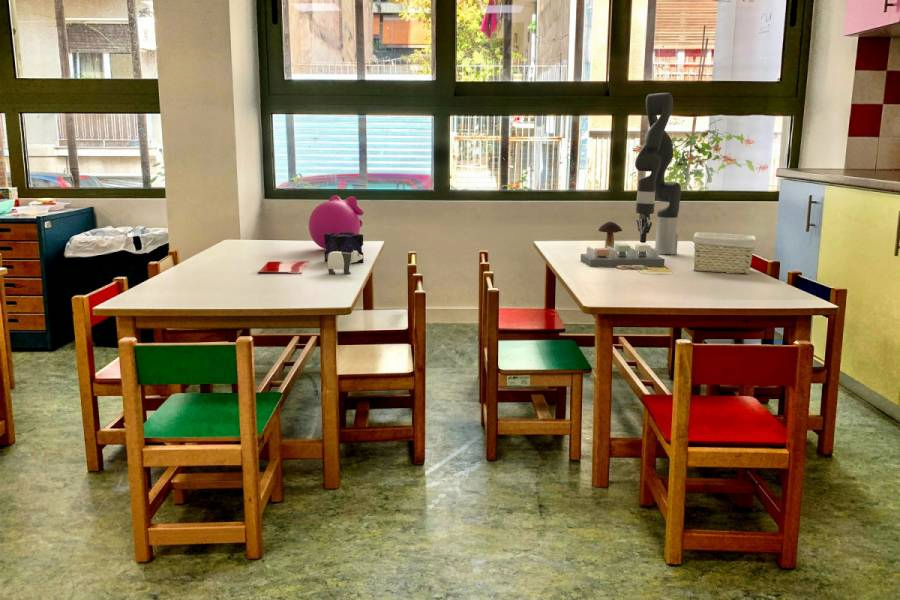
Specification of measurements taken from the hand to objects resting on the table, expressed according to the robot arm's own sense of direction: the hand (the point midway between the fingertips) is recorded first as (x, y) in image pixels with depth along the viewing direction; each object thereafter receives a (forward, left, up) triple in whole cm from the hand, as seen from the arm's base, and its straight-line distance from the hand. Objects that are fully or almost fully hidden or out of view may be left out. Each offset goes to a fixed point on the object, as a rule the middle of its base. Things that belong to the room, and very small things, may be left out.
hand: (642, 242), depth 333 cm
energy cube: (+128, -7, -9) cm, 128 cm away
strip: (+9, +13, -9) cm, 18 cm away
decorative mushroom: (+6, -28, -9) cm, 30 cm away
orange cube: (+18, 0, -7) cm, 19 cm away
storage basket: (-27, +19, -9) cm, 35 cm away
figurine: (+133, -42, -9) cm, 140 cm away
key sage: (+9, 0, -6) cm, 11 cm away
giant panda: (+127, +21, -9) cm, 129 cm away
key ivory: (0, 0, -6) cm, 6 cm away
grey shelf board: (+9, 0, -9) cm, 13 cm away
